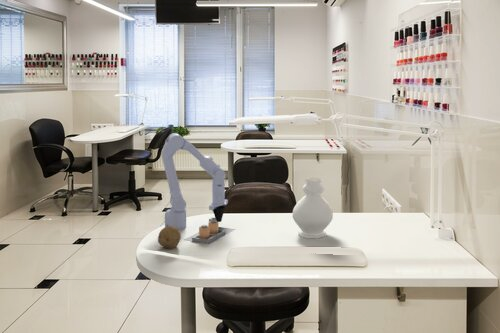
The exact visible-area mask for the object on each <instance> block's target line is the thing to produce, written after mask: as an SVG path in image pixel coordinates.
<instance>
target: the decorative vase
mask: <svg viewBox="0 0 500 333" xmlns="http://www.w3.org/2000/svg"><path fill="white" fill-rule="evenodd" d="M304 182H305V184H303V186H302V191H303V192H304V193H305V195H304V196H303V197H301V198H300V199H299V200H298V201H297V203H296V204H295V205H294V207H293V209H292V219H293V221H294V222H295V224H296V225H297V227H299V229H300V230H299V231H298V232H297V234H298V236H300V237H302V238H305V239H322V238H325V237H326V236H327V232H326V231H325V230H326V228H327V227H328V226H329V225H330V223H331V222H332V220H333V216H334V215H333V209H332V207H331V205H330V204H329V202H328V201H327V200H326V199H325V198H324V197H323V196H322V195H321V194H322V193H323V192H324V190H325V187H324V185H323V184H322V182H323V179H322V178H318V177H306V178H305V179H304ZM324 236H325V237H324ZM321 237H322V238H321Z"/></svg>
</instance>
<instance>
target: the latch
mask: <svg viewBox="0 0 500 333" xmlns="http://www.w3.org/2000/svg"><path fill="white" fill-rule="evenodd" d="M211 221H216V218H215V217H211V218H208V222H211Z"/></svg>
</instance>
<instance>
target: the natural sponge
mask: <svg viewBox="0 0 500 333" xmlns="http://www.w3.org/2000/svg"><path fill="white" fill-rule="evenodd" d="M180 241H181V232H180V229H177V228H176V227H174V226H167V227H165V226H164V227H163V228H162V229H161V230H160V232H159V233H158V236H157V242H158V244H159V245H160V246H161V247H163V248H165V249H168V250H169V249H171V250H172V249H175V248H176V247H178V245H179V242H180Z"/></svg>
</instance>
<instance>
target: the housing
mask: <svg viewBox="0 0 500 333" xmlns="http://www.w3.org/2000/svg"><path fill="white" fill-rule="evenodd" d="M235 230H236V228H230V227H222V226H218V234H211V233H210V238H209V239H201V238H199V231H198V232H197V233H195V234H192V235H190V236H188V237H187V238H184V239H183V240H184V241H187V242H194V243H199V244H204V245H205V244H206V245H210V244H212V243H214V242H215V241H217V240H219V239H220V238H223V237H225V236H226V235H228V234H230V233H231V232H233V231H235Z"/></svg>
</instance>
